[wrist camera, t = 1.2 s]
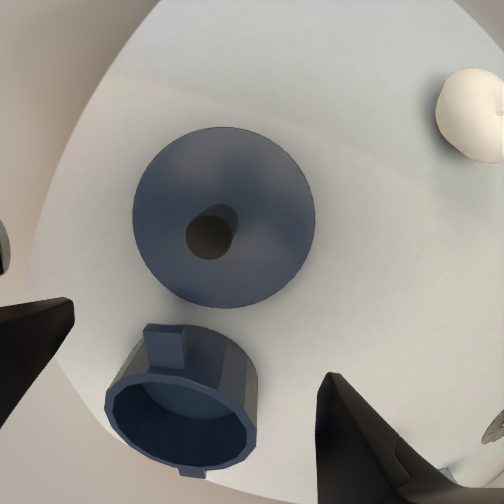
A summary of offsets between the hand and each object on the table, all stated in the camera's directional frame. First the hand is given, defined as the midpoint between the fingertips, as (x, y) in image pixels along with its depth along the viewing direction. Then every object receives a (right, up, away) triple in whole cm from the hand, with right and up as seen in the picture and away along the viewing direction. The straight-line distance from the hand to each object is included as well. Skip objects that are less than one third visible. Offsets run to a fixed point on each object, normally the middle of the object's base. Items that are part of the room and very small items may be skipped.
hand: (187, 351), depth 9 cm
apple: (+18, +14, +9) cm, 24 cm away
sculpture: (+46, -25, +19) cm, 55 cm away
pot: (-3, -8, +15) cm, 17 cm away
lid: (0, +5, +11) cm, 12 cm away
